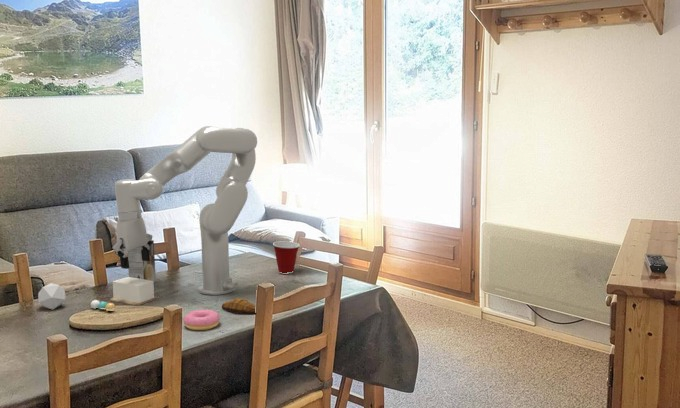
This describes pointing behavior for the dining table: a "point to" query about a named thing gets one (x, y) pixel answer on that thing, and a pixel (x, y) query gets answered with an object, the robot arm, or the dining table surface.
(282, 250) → the plastic cup
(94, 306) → the marble white
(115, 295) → the white rounded block
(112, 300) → the tan flat pointed slab
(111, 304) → the marble amber
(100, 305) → the marble teal
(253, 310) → the croissant
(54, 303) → the die
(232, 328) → the dining table surface
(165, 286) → the dining table surface
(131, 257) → the coffee box
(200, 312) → the doughnut
